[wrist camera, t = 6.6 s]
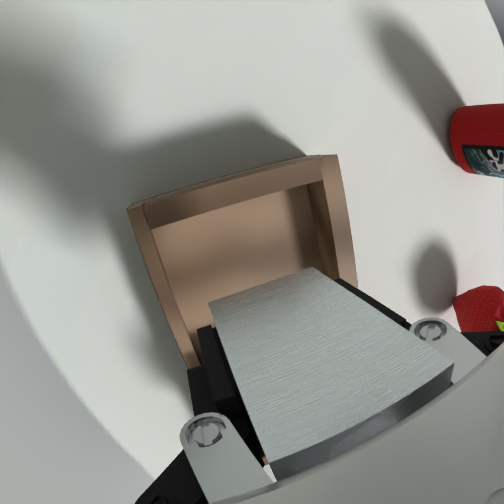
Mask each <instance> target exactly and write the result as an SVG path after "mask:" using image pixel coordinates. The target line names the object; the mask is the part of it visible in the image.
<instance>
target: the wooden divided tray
mask: <svg viewBox="0 0 504 504" xmlns="http://www.w3.org/2000/svg"><path fill="white" fill-rule="evenodd" d="M127 211H128V215H129V218H130V221H131V224H132V227H133V230H134V233H135V236H136V239H137V242H138V245H139V248H140V251H141V254H142V257H143V259H144V262H145V265H146V268H147V270H148V273H149V276H150V279H151V281H152V284H153V287H154V289H155V292H156V294H157V297H158V299H159V302H160V304H161V307H162V309H163V312H164V314H165V317H166V319H167V322H168V324H169V326H170V329H171V331H172V334H173V336H174V338H175V341H176V343H177V345H178V347H179V350H180V352H181V354H182V356H183V359H184V361H185V363H186V365H187V367H188V369H190V368H193V367H196V366H200V365H203V364H204V360H203V356H202V352H201V347H200V343H199V339H198V334H197V329H198V328H201V327H204V326H207V325H210V324H211V326H212V328H214V327H216V325H215V323H214V320H213V317H212V314H211V311H210V308H209V305H208V302H210V301H213V300H216V299H219V298H222V297H225V296H228V295H231V294H234V293H237V292H240V291H243V290H246V289H249V288H252V287H254V286H257V285H260V284H263V283H266V282H269V281H272V280H275V279H278V278H280V277H283V276H286V275H289V274H292V273H295V272H297V271H300V270H303V269H306V268H309V267H311V266H312V267H313V268H315V269H316V270H318V271H320V272H321V273H323V274H324V275H326V276H327V277H329V278H330V279H332V280H335V279H337V278H341V279H343V280H344V281H346V282H348V283H349V284H351V285H352V286H354V287H356V288H357V289H358V283H357V274H356V266H355V258H354V250H353V243H352V236H351V229H350V222H349V216H348V210H347V204H346V198H345V193H344V187H343V182H342V176H341V171H340V166H339V161H338V156H337V154H336V155H309V156H303V157H299V158H295V159H290V160H286V161H282V162H277V163H273V164H269V165H265V166H261V167H257V168H253V169H249V170H246V171H242V172H238V173H234V174H231V175H227V176H223V177H220V178H216V179H213V180H209V181H206V182H202V183H199V184H195V185H192V186H189V187H185V188H182V189H179V190H175V191H172V192H169V193H166V194H163V195H160V196H156V197H153V198H150V199H147V200H144V201H141V202H138V203H135V204H132V205H130V206H129V207H128V208H127ZM262 458H263V461H264V463H265V465H267V464H269V462H268V460H267V458H266V455H265V456H262Z"/></svg>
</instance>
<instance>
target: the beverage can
mask: <svg viewBox="0 0 504 504" xmlns="http://www.w3.org/2000/svg"><path fill="white" fill-rule="evenodd" d="M450 141H451V146H452V150H453V153H454V156H455V158H456V161H457V162H458V164H459V165H460V167H461V168H462V169H463V170H464V171H466V172H468V173H472V174H479V175H486V176H493V177H500V178H504V104H486V105H474V106H464V107H460V108H458V109H457V110H456V111H455V113H454V115H453V117H452V120H451V126H450Z"/></svg>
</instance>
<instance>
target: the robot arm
mask: <svg viewBox="0 0 504 504" xmlns="http://www.w3.org/2000/svg"><path fill="white" fill-rule="evenodd" d="M333 281H335V282H336V283H338V284H339V285H341V286H342V287H344V288H345V289H347V290H348V291H350V292H351V293H353V294H354V295H356V296H357V297H359V298H360V299H362V300H363V301H365V302H366V303H368V304H369V305H371V306H372V307H374V308H375V309H377V310H378V311H380V312H381V313H383V314H384V315H386V316H387V317H389V318H390V319H392V320H393V321H394V322H396V323H397V324H399V325H400V326H402V327H403V328H405V329H406V330H408V331H409V332H411V333H412V334H414V335H415V336H416V337H418V338H419V339H421V340H422V341H424V342H425V343H427V344H428V345H430V346H431V347H432V348H434V349H435V350H437V351H438V352H440V353H441V354H443V355H444V356H445V357H447V358H448V359H450V360H451V361H453V362H454V368H453V373H452V378H451V383H450V387H449V388H448V389H447V390H445V391H444V392H443V393H441V394H440V395H439V396H437V397H436V398H434V399H433V400H432V401H430V402H429V403H427V404H426V405H424V406H423V407H422V408H420V409H419V410H417V411H416V412H414V413H413V414H411V415H410V416H408V417H406V418H405V419H403V420H402V421H400V422H398V423H397V424H395V425H394V426H392V427H390V428H389V429H387V430H385V431H383V432H382V433H380V434H378V435H377V436H375V437H373V438H371V439H369V440H368V441H366V442H364V443H362V444H360V445H358V446H356V447H354V448H353V449H351V450H349V451H347V452H345V453H343V454H341V455H339V456H337V457H334V458H332V459H330V460H328V461H326V462H324V463H322V464H319V465H317V466H315V467H313V468H310V469H308V470H306V471H303V472H301V473H298V474H296V475H293V476H291V477H288V478H286V479H283V480H280V481H278V482H275V483H273V481H272V480H271V479H270V477H269V476H268V475H267V474H266V472H265V471H264V469H263V467H264V466H265V463H264V461H263V458H262V456H265V453H264V451H263V448H262V446H261V443H260V441H259V439H258V436H257V434H256V431H255V429H254V426H253V424H252V421H251V419H250V417H249V414H248V411H247V409H246V406H245V404H244V401H243V399H242V396H241V394H240V391H239V388H238V386H237V383H236V381H235V378H234V375H233V373H232V370H231V367H230V364H229V362H228V359H227V356H226V354H225V351H224V348H223V345H222V342H221V340H220V337H219V334H218V331H217V328H216V327H214V328H212V326H211V324H210V325H207V326H204V327H201V328H198V329H197V334H198V339H199V343H200V347H201V352H202V356H203V360H204V364H203V365H200V366H196V367H193V368H190V369H187V374H188V380H189V387H190V393H191V399H192V404H193V410H194V416H195V417H193V418H192V419H190V420H189V421H188V422H187V423H185V424H184V426H183V428H182V429H181V432H180V441H181V444H182V446H183V450H182V451H181V453H180V454H179V455H178V456H177V457H176V458H175V459H174V460H173V461H172V463H171V464H170V465H169V466H168V467H167V468H166V469H165V470H164V471H163V472H162V474H161V475H160V476H159V477H158V478H157V479H156V480H155V481H154V482H153V483H152V484H151V485H150V487H149V488H148V489H147V490H146V491H145V492H144V493H143V494H142V495H141V496H140V497H139V498H138V500H137V501H136V503H135V504H504V331H481V332H458V331H457V330H456V329H455V328H454V327H453V326H451V325H450V324H449V323H448V322H446V321H445V320H443V319H440V318H433V317H431V318H424V319H420V320H418V321H416V322H415V323H414V324H413V325H411V324H410V323H408V322H407V321H406V319H405V318H403V317H402V316H400V315H398V314H397V313H395V312H394V311H392V310H391V309H389V308H387V307H386V306H384V305H383V304H381V303H380V302H378V301H376V300H375V299H373V298H372V297H370V296H368V295H367V294H365V293H364V292H362V291H360V290H359V289H357V288H356V287H354V286H352V285H351V284H349V283H348V282H346V281H344V280H343V279H341V278H337V279H335V280H333Z"/></svg>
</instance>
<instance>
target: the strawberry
mask: <svg viewBox="0 0 504 504" xmlns="http://www.w3.org/2000/svg"><path fill="white" fill-rule="evenodd" d="M453 307H454V310H455V312H456V316H457V320H458V324H459V326H460V329H461V332H481V331H504V291H503V290H501V289H500V288H499V287H496V286H484V285H483V286H480V287H477V288H474V289H471V290H468V291H467V292H465V293H463V294H461V295H458V296H456V297H455V298H454V301H453Z"/></svg>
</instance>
